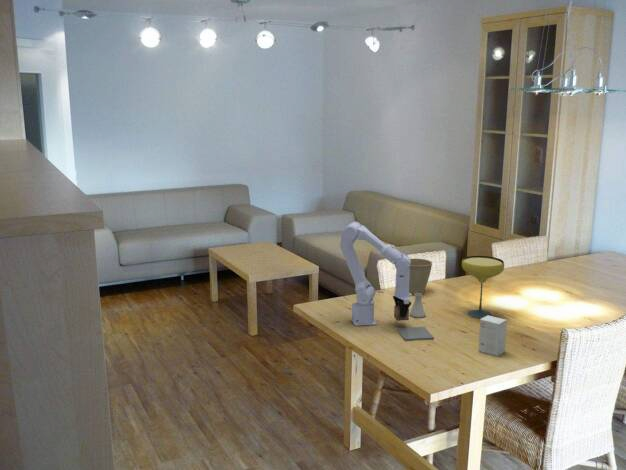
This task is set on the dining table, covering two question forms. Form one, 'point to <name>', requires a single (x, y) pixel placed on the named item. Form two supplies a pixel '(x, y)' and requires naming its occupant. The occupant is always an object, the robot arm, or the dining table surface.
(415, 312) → the flask
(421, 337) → the coaster
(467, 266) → the cocktail glass
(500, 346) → the small box
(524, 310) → the dining table surface
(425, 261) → the plant pot
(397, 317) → the walnut cube
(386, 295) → the dining table surface
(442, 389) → the dining table surface
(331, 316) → the dining table surface
